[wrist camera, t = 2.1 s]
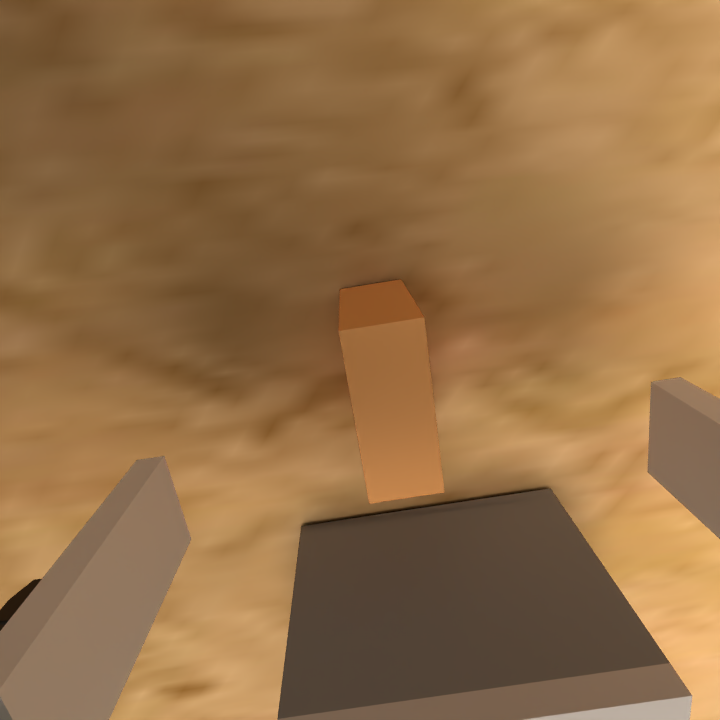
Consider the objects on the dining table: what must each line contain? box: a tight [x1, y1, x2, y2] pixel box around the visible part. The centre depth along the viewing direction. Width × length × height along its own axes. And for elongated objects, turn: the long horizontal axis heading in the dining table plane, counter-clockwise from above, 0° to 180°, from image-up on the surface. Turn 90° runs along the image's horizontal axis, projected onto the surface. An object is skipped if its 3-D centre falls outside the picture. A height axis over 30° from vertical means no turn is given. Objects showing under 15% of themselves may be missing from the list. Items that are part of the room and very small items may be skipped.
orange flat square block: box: [339, 279, 444, 504], centre depth 18 cm, size 6×2×6 cm, turn 9°
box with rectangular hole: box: [278, 488, 692, 720], centre depth 21 cm, size 14×12×10 cm
